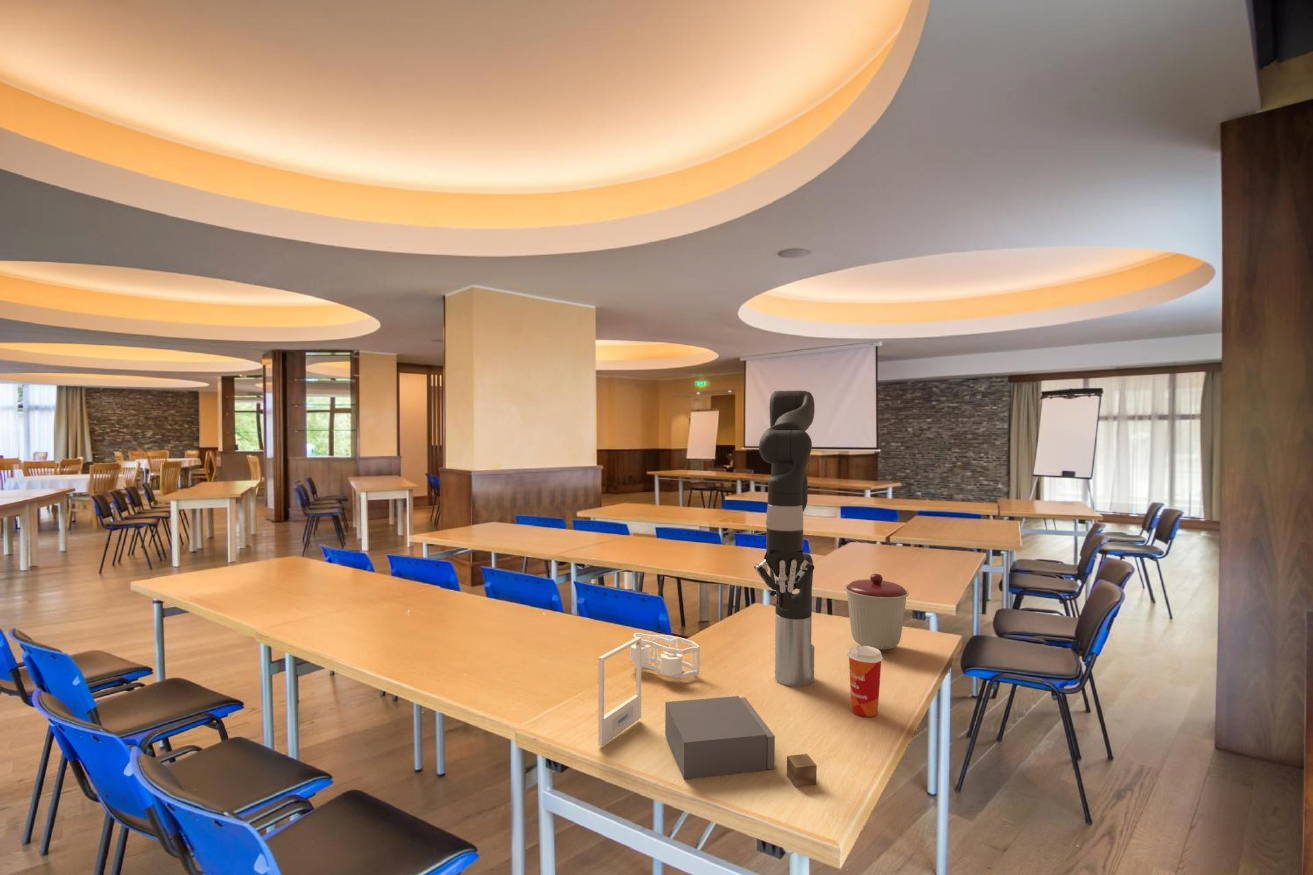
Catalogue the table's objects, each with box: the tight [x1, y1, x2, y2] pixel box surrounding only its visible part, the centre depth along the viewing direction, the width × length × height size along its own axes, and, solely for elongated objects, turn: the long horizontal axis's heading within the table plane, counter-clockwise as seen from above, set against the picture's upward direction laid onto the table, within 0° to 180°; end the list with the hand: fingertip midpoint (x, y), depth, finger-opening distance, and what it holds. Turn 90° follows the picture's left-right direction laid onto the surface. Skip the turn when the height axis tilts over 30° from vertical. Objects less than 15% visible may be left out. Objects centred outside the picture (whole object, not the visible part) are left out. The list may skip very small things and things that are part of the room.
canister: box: [844, 573, 910, 651], centre depth 186 cm, size 18×18×21 cm
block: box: [786, 753, 818, 788], centre depth 114 cm, size 4×4×4 cm
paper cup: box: [846, 645, 884, 718], centre depth 142 cm, size 8×8×14 cm
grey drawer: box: [739, 697, 776, 770], centre depth 125 cm, size 15×17×6 cm
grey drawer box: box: [664, 695, 768, 781], centre depth 124 cm, size 16×17×7 cm
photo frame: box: [597, 637, 642, 747], centre depth 133 cm, size 15×1×18 cm, turn 149°
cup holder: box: [629, 632, 701, 679], centre depth 167 cm, size 20×11×7 cm, turn 49°
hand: (784, 609), depth 130 cm, fingers closed
